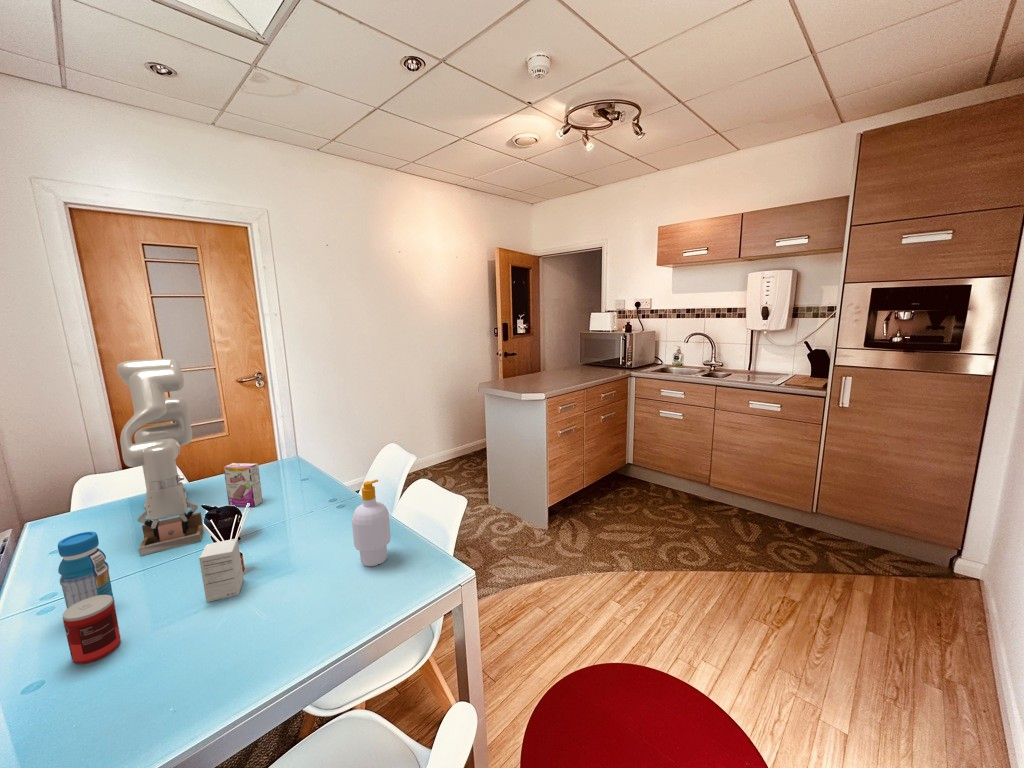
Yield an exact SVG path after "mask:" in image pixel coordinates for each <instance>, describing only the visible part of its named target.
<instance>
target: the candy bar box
mask: <svg viewBox="0 0 1024 768" xmlns="http://www.w3.org/2000/svg"><path fill="white" fill-rule="evenodd" d="M223 472H224V474H223V475H224V479H225V481H224V482H225V486H226V494H227V499H228V500H227V501H228V506H229V505H235V506H238V507H239V508H241V507H243V508H245V506H246V505H247V503H250V507H249V508H255V507H257V506H259V505H261V504H262V503H263V502H264V500H263V493H262V487H261V485H262V484H261V477H260V476H261V475H260V468H259V464H258V463H250V462H249V463H248V462H247V463H243V462H241V463H239V462H232V463H229V464H227V465H225V466H224V467H223ZM235 506H234V507H235Z"/></svg>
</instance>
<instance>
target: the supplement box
mask: <svg viewBox="0 0 1024 768" xmlns="http://www.w3.org/2000/svg"><path fill="white" fill-rule="evenodd" d="M198 558H199V565H200V572H201V577H202V584H203V590H204V595H205V600H206V601H205V602H207V603H209V602H213V601H218V600H223V599H226V598H230V597H234V596H238V595H239V594H240V592H241V589H242V586H243V582H244V573H243V565H242V564H243V563H242V559H241V552H240V545H239V539H238V538H232V539H228V540H227V539H226V540H222V541H216V542H213V543H212V542H211V543H208V544H206V545H205V546H204V548H203V550H202V553H200V556H199V557H198Z"/></svg>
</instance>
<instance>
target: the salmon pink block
mask: <svg viewBox="0 0 1024 768" xmlns="http://www.w3.org/2000/svg"><path fill="white" fill-rule="evenodd" d="M178 517H179V518H176V517H173V518H174V519H172V518H169V520H167V519H164V520H165V521H163V520H159V521H160V522H159V525H158V531H159V537H160V542H163V541H168V540H172V539H176V538H180V537H185V536H187V535H186V533H185V534H184V533H183V530H182V519H181V518H180V516H178Z"/></svg>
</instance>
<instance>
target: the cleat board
mask: <svg viewBox="0 0 1024 768" xmlns="http://www.w3.org/2000/svg"><path fill="white" fill-rule="evenodd" d="M179 517H180V516H176V517H171V519H174V518H179ZM202 518H203V517H202V512H194V513H193V514H192V516H191V517H190V518H189V519H188V524H189V529H187V531H186V536H185V537H180V538H176V539H172V540H168V541H163V542H160V539H159V540H157V536H156V537H154V532H153V529H152V528H151V527H149V526H147V525H145V524H144V523H143V524H142V526H141V528H142V534H143V540H142V542H141V544H140V545H139V548H138V552H139V557H142V556H143V557H144V556H146V555H151V554H156V553H159V552H164V551H168V550H171V549H176V548H180V547H184V546H188V545H191V544H195V543H196V544H197V543H200V542H201V541H202V537H203V533H204V524H203V519H202ZM169 519H170V518H169ZM169 519H163V520H162V521H165V520H169ZM160 521H161V520H158V524H159V522H160Z"/></svg>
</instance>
